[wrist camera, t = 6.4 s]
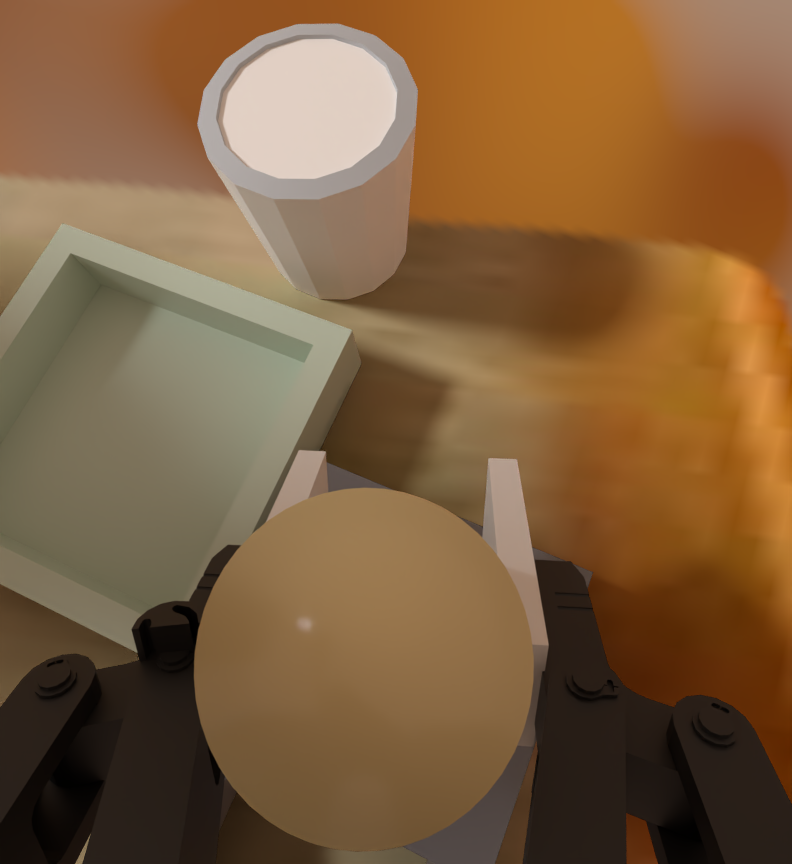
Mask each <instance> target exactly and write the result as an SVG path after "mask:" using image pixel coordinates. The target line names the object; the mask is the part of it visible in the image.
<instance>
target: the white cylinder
mask: <svg viewBox="0 0 792 864" xmlns="http://www.w3.org/2000/svg"><path fill="white" fill-rule="evenodd" d="M417 93H418V89H417V87H416V85H415V82H414V80H413V78H412V76H411V74H410V72H409V70H408V67H407V65H406V63H405V61H404V59H403V58H402V57H401V56H400V55H399V54H397V53H396V52H395V51H394V50H392V49H391V48H390V47H389V46H388V45H386V44H385V43H384V42H383V41H381V40H380V39H379V38H378V37H376V36H375V35H372V34H369V33H366V32H363V31H359V30H356V29H353V28H350V27H347V26H343V25H340V24H297V25H294V26H290V27H287V28H284V29H281V30H278V31H274V32H271V33H268V34H265V35H262V36H259V37H257V38H255V39H254V40H253V41H251V42H250V43H248V44H247V45H245V46H244V47H243V48H241V49H240V50H238V51H237V52H235V53H234V54H233V55H232V56H230V57H228V58H227V59H226V60H225V61H224V62H223V64H222V65H221V66H220V68H219V69H218V71H217V72H216V74H215V75H214V77H213V78H212V79H211V81H210V82H209V84H208V85H207V87H206V88H205V89H204V92H203V98H202V103H201V108H200V113H199V119H198V124H197V125H198V128H199V131H200V134H201V138H202V141H203V144H204V147H205V151H206V154H207V157H208V159H209V160H210V162H211V164H212V165H213V167H214V168H215V170H216V172H217V173H218V175H219V176H220V178H221V180H222V181H223V182H224V184H225V186H226V188H227V189H228V191H229V192H230V194H231V195H232V197H233V199H234V200H235V202H236V203H237V205H238V207H239V208H240V210H241V211H242V213H243V215H244V216H245V218H246V219H247V221H248V222H249V224H250V226H251V227H252V229H253V230H254V232H255V234H256V235H257V237H258V238H259V240H260V242H261V243H262V245H263V246H264V248H265V250H266V251H267V253H268V254H269V256H270V257H271V259H272V261H273V262H274V264H275V265H276V267H277V269H278V270H279V272H280V273H281V274H282V275H283V276H284V277H285V278H286V279H287V280H288V281H289V282H290V283H291V284H292V285H293V286H294V287H295V288H296V289H297V290H299V291H302V292H304V293H307V294H309V295H312V296H314V297H316V298H319V299H339V300H348V299H351V298H354V297H357V296H360V295H363V294H366V293H369V292H372V291H374V290H375V289H376V288H378V287H379V286H380V285H381V284H383V283H384V282H385V281H386V280H388V279H389V278H390V277H391V276H392V275H394V273H395V272H396V270H397V268H398V266H399V264H400V262H401V261H402V259H403V257H404V255H405V253H406V244H407V231H408V218H409V204H410V192H411V179H412V164H413V152H414V139H415V125H416V110H417Z"/></svg>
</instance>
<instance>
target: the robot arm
mask: <svg viewBox="0 0 792 864" xmlns="http://www.w3.org/2000/svg"><path fill="white" fill-rule="evenodd" d="M323 493H328V478H327V461H326V451H306V450H299V451H298V453H297V455H296V457H295V460H294V462H293V464H292V466H291V468H290V471H289V473H288V475H287V477H286V479H285V481H284V484H283V486H282V488H281V490H280V492H279V495H278V497H277V499H276V501H275V503H274V505H273V508H272V510H271V512H270V514H269V516H268V519H267V521H268V520H270V519H271V518H273V517H274V516H276V515H277V514H279V513H280V512H282V511H284V510H285V509H287V508H289V507H291V506H293V505H295V504H297V503H299V502H301V501H303V500H306V499H309V498H312V497H315V496H317V495H320V494H323ZM267 521H266V522H267ZM482 538H483V539H484V540H485V541H486V542H487V544H488V545H489V546H490V547H491V548H492V549H493V550H494V552H495V553H496V554H497V556H498V557H499V559H500V560H501V562H502V563H503V564H504V566H505V567H506V569H507V571H508V573H509V574H510V576H511V578H512V580H513V582H514V584H515V586H516V588H517V590H518V592H519V595H520V598H521V600H522V603H523V606H524V608H525V611H526V615H527V619H528V623H529V628H530V632H531V639H532V647H533V656H534V670H533V688H532V695H531V703H530V708H529V712H528V715H527V719H526V723H525V727H524V730H523V732H522V735H521V737H520V740H519V742H518V745H517V746H530V747H533V744H534V738H535V732H536V740H537V748H538V754H537V760H536V767H535V773H534V779H533V785H532V791H531V793H532V797H531V805H530V812H529V820H528V828H527V835H526V843H525V851H524V858H523V864H626V813H628V814H631V815H633V816H635V817H638V818H640V819H643V820H645V821H646V822H647V826H648V829H649V833H650V836H651V840H652V843H653V847H654V851H655V854H656V858H657V861H658V864H792V804H791V802H790V800H789V798H788V796H787V794H786V792H785V790H784V788H783V786H782V784H781V782H780V780H779V778H778V776H777V774H776V772H775V770H774V768H773V766H772V764H771V762H770V760H769V758H768V756H767V754H766V752H765V750H764V748H763V746H762V744H761V742H760V740H759V738H758V736H757V734H756V732H755V730H754V728H753V727H752V726H751V724H750V723H749V721H748V720H747V719H746V717H745V716H744V715H742V714H741V713H740V712H739V711H737V710H736V709H735V708H734V707H733V706H731V705H729V704H727V703H725V702H723V701H721V700H719V699H717V698H713V697H708V696H703V695H695V696H687V697H685V698H683V699H682V700H680V701H679V702H677V703H676V706H675V708H674V707H671V706H668V705H665V704H662V703H659V702H656V701H653V700H650V699H648V698H645V697H643V696H641V695H638V694H636V693H635V692H633V691H631V690H630V689H628V688H627V687H625V686H624V685H623V684H622V682H621V680H620V679H619V678H618V676H617V675H616V674H615V672H614V671H612V670H611V669H610V667H609V665H608V663H607V659H606V656H605V652H604V648H603V644H602V641H601V637H600V633H599V630H598V626H597V622H596V619H595V615H594V612H593V608H592V604H591V600H590V597H589V593H588V589H587V586H586V582H585V578H584V576H583V575H582V574H581V573H580V572H579V570H578V569H577V568H576V567H575V566H574V565H573V563H572V562H571V561H552V560H534V556H533V550H532V545H531V539H530V533H529V527H528V521H527V515H526V509H525V504H524V498H523V492H522V486H521V480H520V474H519V469H518V463H517V459H499V458H488V471H487V484H486V497H485V510H484V523H483V535H482ZM240 546H241V545H227V546H226V547H224V548H223V549H222V550H221V551H220V552H218V553H217V554H216V555H215V556H214V557H212V559H211V561H210V562H209V564H208V566H207V568H206V570H205V572H204V575H203V577H201V579H200V581H199V583H198V585H197V589H195V590H194V592H193V594H192V596H191V598H190V599H189V601H171V602H167V603H162V604H159V605H157V606H155V607H153V608H151V609H149V610H147V611H146V612H145V613H144V614H143V615H141V616H140V617H139V618H138V619H137V620H136V622H135V624H134V625H133V627H132V629H131V630H132V634H133V638H134V641H135V645H136V649H137V653H138V656H139V660H138V661H135V662H131V663H128V664H123V665H118V666H113V667H108V668H103V669H98V670H96V668H95V665H94V663H93V662H92V661H91V660H90V659H89V658H88V657H86V656H82V655H79V654H67V655H60V656H57V657H54V658H51V659H48V660H46V661H45V662H43V663H41V664H40V665H38V666H36V667H35V668H33V669H32V670H31V671H30V672H29V673H28V674H27V675H26V676H25V677H24V678H23V679H22V680H21V681H20V683H19V684H18V685H17V687H16V688H15V689H14V690H13V692H12V693H11V694H10V696H9V697H8V698H7V699H6V701H5V702H4V703H3V705H2V706H1V707H0V864H75V863H76V861H77V859H78V857H79V855H80V853H81V851H82V849H83V847H84V845H85V843H86V841H87V839H88V837H89V836H90V839H89V842H88V846H87V850H86V853H85V857H84V860H83V864H216V855H217V846H218V836H219V827H220V818H221V809H222V799H223V790H224V781H225V775H224V774H223V772H222V771H221V769H220V768H219V766H218V764H217V762H216V760H215V758H214V756H213V754H212V752H211V750H210V748H209V746H208V743H207V740H206V737H205V734H204V731H203V729H202V726H201V722H200V718H199V713H198V708H197V703H196V697H195V685H194V657H195V648H196V641H197V635H198V629H199V626H200V622H201V619H202V615H203V612H204V608H205V606H206V603H207V601H208V598H209V596H210V594H211V591H212V589H213V587H214V585H215V583H216V581H217V580H218V578H219V576H220V574H221V572H222V571H223V569H224V567H225V566H226V564H227V563H228V562H229V560H230V559H231V558H232V556H233V555H234V554H235V552H236V551H237V550H238V548H239V547H240ZM90 834H91V835H90Z"/></svg>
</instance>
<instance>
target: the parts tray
mask: <svg viewBox="0 0 792 864" xmlns="http://www.w3.org/2000/svg"><path fill="white" fill-rule="evenodd" d="M360 366H361V360H360V356H359V353H358V349H357V345H356V342H355V338H354V335H353V331H352V330H351V329H348V328H345V327H343V326H340V325H337V324H335V323H332V322H329V321H326V320H324V319H321V318H318V317H316V316H313V315H310V314H307V313H305V312H302V311H299V310H297V309H294V308H291V307H288V306H286V305H283V304H280V303H278V302H275V301H272V300H269V299H267V298H264V297H261V296H259V295H256V294H253V293H251V292H248V291H245V290H242V289H240V288H237V287H234V286H232V285H229V284H226V283H223V282H221V281H218V280H215V279H213V278H210V277H207V276H204V275H202V274H199V273H196V272H194V271H191V270H188V269H185V268H183V267H180V266H177V265H175V264H172V263H169V262H167V261H164V260H161V259H158V258H156V257H153V256H150V255H148V254H145V253H142V252H139V251H137V250H134V249H131V248H129V247H126V246H123V245H120V244H118V243H115V242H112V241H110V240H107V239H104V238H102V237H99V236H96V235H93V234H91V233H88V232H85V231H83V230H80V229H77V228H74V227H72V226H69V225H66V224H64V223H62V225H61V226H60V228H59V229H58V231H57V232H56V234H55V235H54V237H53V238H52V240H51V241H50V243H49V244H48V246H47V247H46V249H45V250H44V252H43V253H42V255H41V256H40V258H39V259H38V261H37V262H36V264H35V265H34V267H33V268H32V270H31V271H30V273H29V274H28V276H27V277H26V279H25V280H24V282H23V283H22V285H21V286H20V288H19V289H18V291H17V292H16V294H15V295H14V297H13V298H12V300H11V301H10V303H9V304H8V306H7V307H6V309H5V310H4V312H3V313H2V315H1V316H0V584H1V585H3V586H5V587H7V588H9V589H11V590H13V591H15V592H17V593H19V594H21V595H23V596H25V597H27V598H29V599H31V600H33V601H35V602H37V603H39V604H41V605H43V606H45V607H47V608H49V609H51V610H53V611H55V612H57V613H59V614H61V615H63V616H65V617H67V618H69V619H71V620H73V621H75V622H77V623H79V624H81V625H83V626H85V627H87V628H89V629H91V630H93V631H95V632H97V633H99V634H101V635H103V636H105V637H107V638H109V639H111V640H113V641H115V642H117V643H119V644H121V645H123V646H125V647H127V648H129V649H131V650H133V651H134V652H136V653H137V649H136V645H135V641H134V638H133V634H132V630H131V629H132V627H133V625H134V624H135V622H136V620H137V619H138V618H139V617H140V616H141V615H143V614H144V613H145V612H146V611H147V610H149V609H151V608H153V607H155V606H157V605H159V604H162V603H167V602H171V601H189V599H190V598H191V596H192V594H193V592H194V590H195V589H197V585H198V583H199V581H200V579H201V577H203V575H204V572H205V570H206V568H207V566H208V564H209V562H210V561H211V559H212V557H214V556H215V555H216V554H217V553H218V552H220V551H221V550H222V549H223V548H224V547H226V546H227V545H242V544H243V543H244V542H245V541H246V540H247V539H248V538H249V537H250V536H251V535H252V534H253V533H254V532H255V531H256V530H257V529H259V528H260V527H261V526H262V525H263V524H265V523H266V521H267V519H268V516H269V514H270V512H271V510H272V508H273V505H274V503H275V501H276V499H277V497H278V495H279V492H280V490H281V488H282V486H283V484H284V481H285V479H286V477H287V475H288V473H289V471H290V468H291V466H292V464H293V462H294V460H295V457H296V455H297V453H298V451H299V450H306V451H320V449H321V447H322V445H323V443H324V440H325V438H326V436H327V434H328V432H329V430H330V428H331V426H332V424H333V422H334V420H335V418H336V415H337V413H338V411H339V409H340V407H341V405H342V403H343V401H344V399H345V397H346V395H347V393H348V391H349V388H350V386H351V384H352V382H353V380H354V378H355V376H356V374H357V372H358V370H359V368H360Z"/></svg>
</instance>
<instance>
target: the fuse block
mask: <svg viewBox="0 0 792 864" xmlns="http://www.w3.org/2000/svg"><path fill="white" fill-rule="evenodd" d="M327 478H328V492H333V491H338V490H343V489H353V488H379V489H389V490H393V489H390V488H388V487H385V486H383V485H380V484H378V483H376V482H373V481H371V480H368V479H366V478H363V477H361V476H359V475H356V474H354V473H351V472H349V471H347V470H344V469H342V468H339V467H337V466H334V465H332V464H330V463H327ZM394 491H395V490H394ZM457 517H458V516H457ZM459 518H460V517H459ZM460 519H462V520H463V521H464V522H465V523H466V524H468V525H469V526H470V527H471V528H472V529H474V530H475V531H476V532H477V533H478V534H479V535H480V536H481V537H482V535H483V527H482V526H480V525H477V524H475V523H472V522H470V521H468V520H465V519H463V518H460ZM532 550H533V556H534V560H552V561H564V560H562V559H560V558H557V557H555V556H552V555H550V554H547V553H545V552H543V551H540V550H538V549H535V548H533V547H532ZM573 565H574V564H573ZM574 566H575V567H576V568H577V569H578V570H579V572H580V573H581V574H582V575H583V576H584V578H585V582H586V586H587V589H588V586H589V583H590V580H591V577H592V574H593V572H591V571H589V570H586V569H584V568H581V567H579V566H577V565H574ZM535 743H536V732H535V738H534V744H533V747H530V746H517V747H516V750H515V752H514V754H513V756H512V757H511V759H510V761H509V763H508V764H507V766H506V768H505V770H504V771H503V773H502V775H501V776H500V777H499V778H498V780H497V781H496V782H495V784H494V785H493V786H492V788H491V789H490V790H489V792H488V793H487V794H486V795H485V796H484V797H483V798H482V799H481V800H480V801H479V802H478V803H477V804H476V805H475V806H474V807H473V808H472V809H471V810H470V811H469V812H467V813H466V814H465V815H463V816H462V817H461V818H459V819H458V820H457V821H455V822H454V823H452V824H451V825H450V826H448V827H446V828H444V829H442V830H441V831H439V832H437V833H435V834H433V835H431V836H429V837H428V838H425V839H422V840H419V841H417V842H414V843H411V844H408V845H405V846H402V847H404V848H406V849H408V850H410V851H412V852H414V853H416V854H418V855H420V856H422V857H424V858H426V859H427V863H426V864H495V862H496V859H497V856H498V853H499V850H500V847H501V844H502V841H503V838H504V835H505V832H506V829H507V826H508V823H509V820H510V817H511V814H512V811H513V808H514V805H515V802H516V799H517V796H518V794H519V791H520V788H521V785H522V782H523V779H524V776H525V773H526V770H527V767H528V764H529V761H530V758H531V755H532V752H533V749H534V746H535ZM235 795H236V790H235V789H234V788H233V787H232V786H231V784H230V783H229V781H228V780H227V778H226V777H225V781H224V790H223V799H222V809H221V818H220V827H219V830H220V828H221V826H222V824H223V821H224V819H225V817H226V815H227V813H228V810H229V808H230V806H231V804H232V801H233V799H234V797H235Z"/></svg>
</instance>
